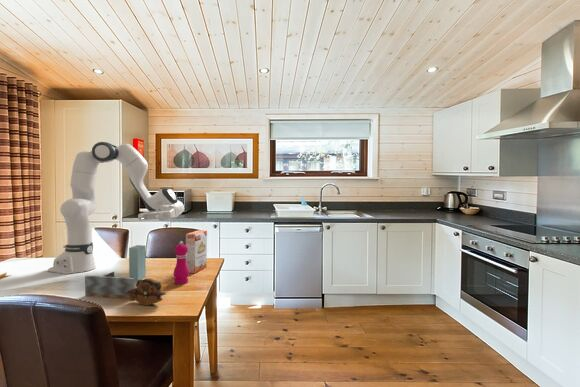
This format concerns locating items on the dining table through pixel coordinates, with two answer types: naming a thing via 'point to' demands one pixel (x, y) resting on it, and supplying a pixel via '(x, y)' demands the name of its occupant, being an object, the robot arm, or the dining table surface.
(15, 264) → the dining table surface
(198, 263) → the cracker box
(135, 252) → the grey-green rectangular block
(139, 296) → the wooden carving
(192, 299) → the dining table surface
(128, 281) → the grey speckled box
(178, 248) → the pepper mill
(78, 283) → the dining table surface
